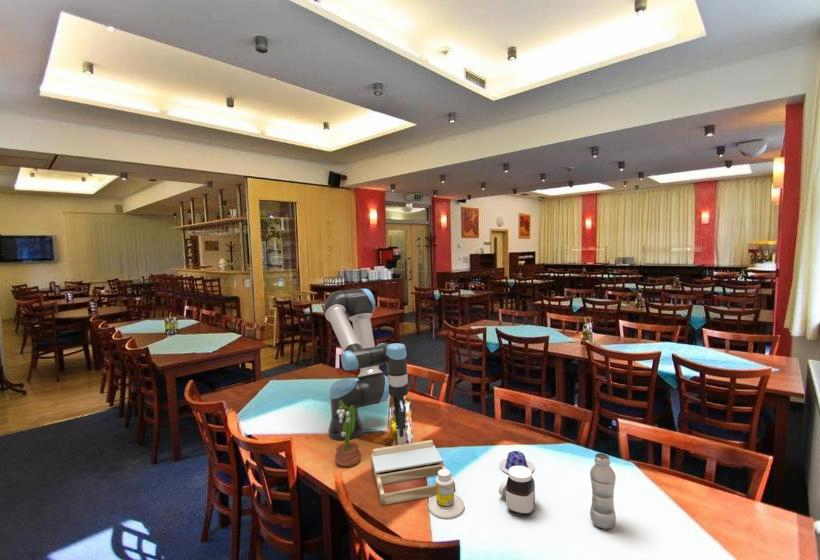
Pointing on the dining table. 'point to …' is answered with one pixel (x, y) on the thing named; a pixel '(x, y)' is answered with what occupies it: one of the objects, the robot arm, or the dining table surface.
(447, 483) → the supplement bottle
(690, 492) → the dining table surface
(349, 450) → the potted flower
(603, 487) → the plastic bottle
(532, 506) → the spread jar
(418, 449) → the lid
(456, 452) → the dining table surface
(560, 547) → the dining table surface
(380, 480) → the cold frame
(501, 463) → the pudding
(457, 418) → the dining table surface
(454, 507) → the saucer
